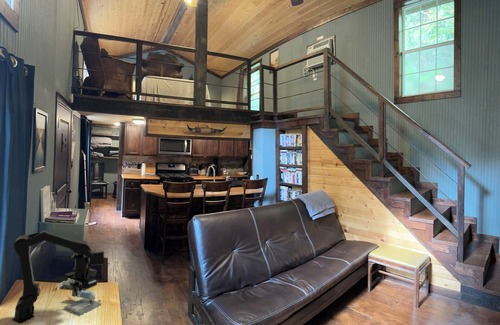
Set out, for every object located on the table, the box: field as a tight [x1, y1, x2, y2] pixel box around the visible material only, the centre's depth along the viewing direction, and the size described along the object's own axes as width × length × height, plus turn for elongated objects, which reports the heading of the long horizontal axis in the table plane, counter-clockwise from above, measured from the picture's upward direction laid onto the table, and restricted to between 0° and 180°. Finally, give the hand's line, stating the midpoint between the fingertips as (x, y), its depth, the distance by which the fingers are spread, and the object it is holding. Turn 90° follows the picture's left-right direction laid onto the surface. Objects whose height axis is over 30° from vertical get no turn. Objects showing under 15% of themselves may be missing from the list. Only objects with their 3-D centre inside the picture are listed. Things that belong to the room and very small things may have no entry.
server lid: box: [64, 298, 102, 316], centre depth 150 cm, size 12×12×2 cm
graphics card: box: [56, 278, 86, 291], centre depth 171 cm, size 17×4×12 cm
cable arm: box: [71, 289, 97, 301], centre depth 156 cm, size 13×3×4 cm, turn 80°
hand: (78, 296), depth 147 cm, fingers closed
